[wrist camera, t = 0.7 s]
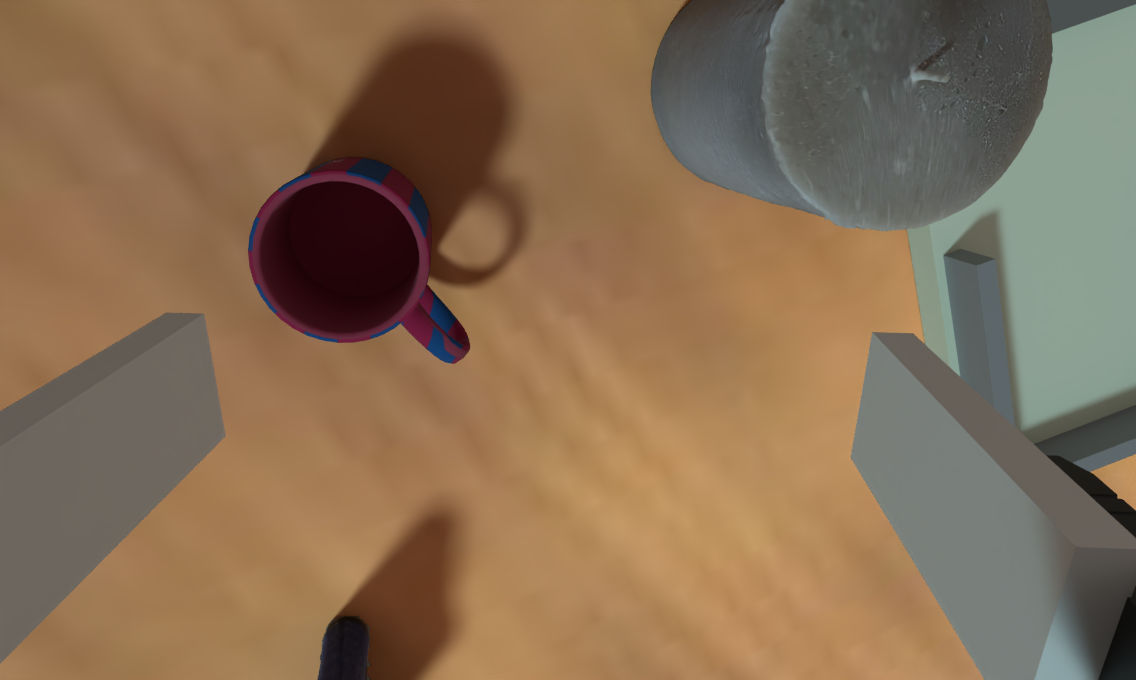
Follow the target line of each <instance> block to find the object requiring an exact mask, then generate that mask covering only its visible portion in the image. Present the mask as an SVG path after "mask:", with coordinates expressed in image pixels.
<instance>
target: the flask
mask: <svg viewBox="0 0 1136 680" xmlns="http://www.w3.org/2000/svg"><path fill="white" fill-rule="evenodd" d="M369 631H370V628H369V627H368V626H367V624H366V623H365V622H364V621H363V620H361V619H360V618H359V616H356V617H355V616H344V617H338V618H336V619H334V620H332V621H331V622H330V624H329V625H328V626H327V628H326V633H325V634H324V637H323V640H322V642H323V643H322V652H321V655H320V660H321V664H320V670H319V675H318V680H371V679H369V676H368V674H367V667H368V666H369V665H371V664H370V663H369V661H368V659H367V656H368V649H369V648H370V647H369V641H370V636H369Z"/></svg>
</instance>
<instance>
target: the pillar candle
mask: <svg viewBox="0 0 1136 680" xmlns="http://www.w3.org/2000/svg"><path fill="white" fill-rule="evenodd" d="M1052 52H1053V44H1052V27H1051V18H1050V15H1049V10H1048V5H1047V3H1046V0H692V1H691V2H690V3H689V4H688V5H687V6H686V7H684V8H683V9H682V11H681V12H680V13H679V14H678V15H677V17H676V18H675V19H674V21H673V22H672V23H671V25H670V26H669V28H668V30H667V31H666V33H665V35H664V37H663V39H662V41H661V43H660V46H659V48H658V52H657V55H656V58H655V61H654V66H653V71H652V81H651V100H652V106H653V111H654V114H655V118H656V120H657V123H658V126H659V129H660V131H661V134H662V137H663V139H664V140H665V142H666V144H667V146H668V147H669V149H670V150H671V152H672V153H673V155H674V156H675V157H676V159H677V160H678V161H679V162H680V163H681V164H682V165H683V166H684V167H686V168H687V169H688V170H689V171H691V172H692V173H694V174H695V175H696V176H698V177H699V178H700V179H702V180H704V181H707V182H710V183H714V184H716V185H718V186H721V187H724V188H726V189H729V190H733V191H736V192H738V193H742V194H745V195H748V196H751V197H754V198H757V199H760V200H763V201H767V202H770V203H773V204H777V205H781V206H787V207H792V208H794V209H798V210H802V211H805V212H808V213H812V214H815V215H818V216H822V217H825V220H826V219H829V220H831V221H832V222H833V223H834V224H835V225H838V226H841V227H845V228H856V227H858V228H860V229H873V230H879V231H891V230H903V229H915V228H920V227H923V226H926V225H929V224H932V223H934V222H937V221H940V220H942V219H944V218H947V217H949V216H951V215H953V214H955V213H957V212H959V211H961V210H963V209H965V208H967V207H968V206H970V205H971V204H973V203H974V202H976V201H977V200H978V199H979V198H980V197H981V196H982V195H983V194H984V193H985V192H987V191H988V190H989V189H990V188H991V187H992V186H993V185H994V184H995V183H996V182H997V181H998V180H999V179H1000V178H1001V177H1002V175H1003V174H1004V173H1005V172H1006V171H1007V169H1008V167H1009V166H1010V165H1011V164H1012V162H1013V161H1014V159H1015V158H1016V157H1017V155H1018V154H1019V152H1020V151H1021V149H1022V147H1023V145H1024V144H1025V142H1026V140H1027V139H1028V137H1029V136H1030V134H1031V132H1032V130H1033V128H1034V125H1035V122H1036V120H1037V118H1038V116H1039V114H1040V112H1041V111H1042V109H1043V104H1044V103H1043V100H1044V98H1045V95H1046V91H1047V86H1048V79H1049V74H1050V69H1051V64H1052V59H1053V57H1052Z"/></svg>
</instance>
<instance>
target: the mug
mask: <svg viewBox="0 0 1136 680" xmlns="http://www.w3.org/2000/svg"><path fill="white" fill-rule="evenodd" d="M431 244H432V225H431V220H430V215H429V212H428V209H427V206H426V204H425V201H424V200H423V198H422V196H421V195H420V193H419V191H418V190H417V189H416V188H415V186H414V185H413V184H412V183H411V182H410V181H409V180H408V179H407V178H406V177H405V176H404V175H402V174H401V173H400V172H398V171H397V170H395V169H393V168H392V167H390V166H388V165H386V164H383V163H381V162H378V161H376V160H371V159H366V158H352V157H348V158H342V159H335V160H332V161H329V162H327V163H324V164H322V165H320V166H318V167H316V168H314V169H312V170H310V171H308V172H306V173H304V174H303V175H301V176H299V177H297V178H295V179H293V180H292V181H290V182H288V183H286V184H284V185H283V186H282V187H280V188H279V189H278V190H277V191H276V192H274V193H273V194H272V195H271V196H270V197H269V198H268V200H267V201H266V202H265V203H264V205H263V206H262V207H261V209H260V211H259V213H258V215H257V216H256V218H255V220H254V223H253V226H252V230H251V233H250V237H249V248H248V255H249V266H250V270H251V273H252V277H253V280H254V283H255V285H256V287H257V289H258V291H259V293H260V295H261V297H262V298H263V300H264V301H265V302H266V304H267V305H268V307H269V308H270V309H271V310H272V311H273V312H274V313H275V314H276V315H277V316H278V317H279V318H280V319H281V320H282V321H284V322H285V323H287V324H288V325H289V326H291V327H292V328H294V329H295V330H297V331H299V332H301V333H303V334H305V335H307V336H310V337H314V338H317V339H320V340H323V341H330V342H337V343H349V342H359V341H364V340H369V339H372V338H375V337H378V336H380V335H383V334H385V333H386V332H388V331H390V330H392V329H394V328H395V327H397V326H398V325H399V324H400V323H401V324H402V325H403V326H404V327H405V328H406V330H407V331H408V332H409V333H410V334H411V335H412V336H413V337H414V338H415V339H416V340H417V341H418V342H420V343H421V344H422V345H423V346H424V347H425V348H426V349H427V350H428V351H430V352H431V353H432V354H433V355H434V356H436V357H437V358H439V359H440V360H442V361H444V362H447V363H452V364H455V363H457V362H458V361H459V360H461V359H462V358H464V357H465V355H466V354H467V353H468V351H469V350H470V343H469V338H468V335H467V333H466V331H465V329H464V328H463V326H462V325H461V324H460V322H459V321H458V320H457V318H456V317H455V316H454V315H453V314H452V312H451V311H450V310H449V309H448V308H447V307H446V305H445V304H444V303H443V302H442V301H441V300H440V299H439V298H438V297H437V295H436V294H435V293H434V292H433V291H432V290H431V288H430V287H429V286H428V285H427V282H428V278H429V271H430V262H431Z"/></svg>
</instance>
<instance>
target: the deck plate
mask: <svg viewBox="0 0 1136 680" xmlns="http://www.w3.org/2000/svg"><path fill="white" fill-rule="evenodd" d="M1046 3H1047V5H1048V10H1049V15H1050V18H1051V27H1052V44H1053V52H1052V57H1053V59H1052V64H1051V69H1050V74H1049V79H1048V86H1047V91H1046V95H1045V98H1044V100H1043V103H1044V104H1043V109H1042V111H1041V112H1040V114H1039V116H1038V118H1037V120H1036V122H1035V125H1034V128H1033V130H1032V132H1031V134H1030V136H1029V137H1028V139H1027V140H1026V142H1025V144H1024V145H1023V147H1022V149H1021V151H1020V152H1019V154H1018V155H1017V157H1016V158H1015V159H1014V161H1013V162H1012V164H1011V165H1010V166H1009V167H1008V169H1007V171H1006V172H1005V173H1004V174H1003V175H1002V177H1001V178H1000V179H999V180H998V181H997V182H996V183H995V184H994V185H993V186H992V187H991V188H990V189H989V190H988V191H987V192H985V193H984V194H983V195H982V196H981V197H980V198H979V199H978V200H977V201H976V202H974V203H973V204H971V205H970V206H968V207H967V208H965V209H963V210H961V211H959V212H957V213H955V214H953V215H951V216H949V217H947V218H944V219H942V220H940V221H937V222H934V223H932V224H929V225H926V226H923V227H920V228H915V229H907V231H908V238H909V244H910V250H911V257H912V263H913V269H914V276H915V282H916V288H917V295H918V301H919V307H920V314H921V320H922V326H923V333H924V339H925V345H926V346H927V347H928V348H929V349H930V350H932V351H933V352H934V353H935V354H936V355H937V356H938V357H939V358H940V359H941V360H942V361H944V362H945V363H946V364H947V365H948V366H949V367H950V368H951V369H952V370H953V371H954V372H955V373H957V374H958V375H959V376H960V377H961V378H962V379H963V380H964V381H965V382H966V383H967V384H969V385H970V386H971V387H972V388H973V389H974V390H975V391H976V392H977V393H978V394H979V395H981V396H982V397H983V398H984V399H985V400H986V401H987V402H988V403H989V404H990V405H991V406H993V407H994V408H995V409H996V410H997V411H998V412H999V413H1000V414H1001V415H1002V416H1003V417H1005V418H1006V419H1007V420H1008V421H1009V422H1010V423H1011V424H1012V425H1013V426H1014V427H1015V428H1016V429H1018V430H1019V431H1020V432H1021V433H1022V434H1023V435H1024V436H1025V437H1026V438H1027V439H1028V440H1030V441H1031V442H1032V443H1033V444H1034V445H1035V446H1036V447H1037V448H1038V449H1039V450H1040V451H1042V452H1043V453H1044V454H1045V455H1057V456H1060V457H1062V458H1064V459H1066V460H1068V461H1070V462H1072V463H1074V464H1075V465H1077V466H1079V467H1081V468H1083V469H1085V470H1087V471H1089V472H1091V471H1093V470H1096V469H1098V468H1101V467H1103V466H1106V465H1109V464H1111V463H1114V462H1116V461H1119V460H1121V459H1124V458H1126V457H1129V456H1132V455H1134V454H1136V0H1046Z"/></svg>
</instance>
